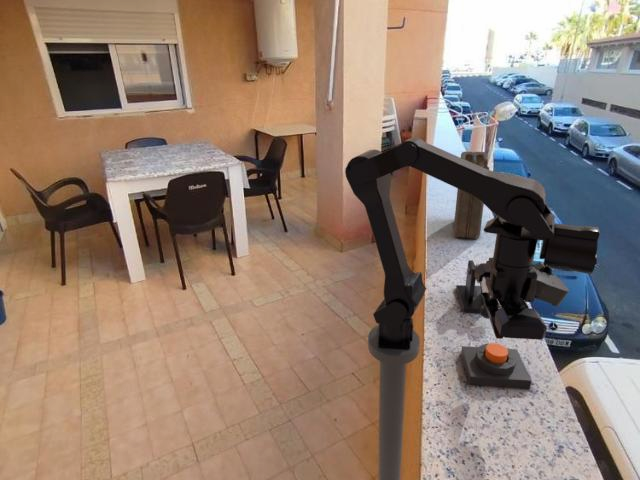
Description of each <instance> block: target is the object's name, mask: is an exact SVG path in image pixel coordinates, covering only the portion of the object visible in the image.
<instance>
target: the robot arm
mask: <svg viewBox="0 0 640 480" xmlns="http://www.w3.org/2000/svg"><path fill="white" fill-rule="evenodd" d="M405 167H410V168H414V169H415V170H417V171H419V172H421V173H423V174H426V175H428V176H430V177H432V178H434V179H437V180H439V181H440V182H443V183H445V184H447V185H449V186H451V187H454V188H455V189H457V190H458V189H460V190H462V191H464V192H466V193H469V194H471V195H473V196H475V197H476V198H478V199H479V200H480V201H482V202H483V203H484V206H486V208H488V210H489V211H490V212H492V213H493V214H494V215H495V216H494V217H493V218H491V219H489V220H488V221H486V223H485V225H484V228H483V232H485V233H487V234H495V235H496V236H495V244H494V249H493V255H492V257H489V258H488V261H489V262H488V263H489V264H487V263H486V262H485V263H483V262H482V263H479V264H480V265H478V266H477V267H476V268H475V278H476V281H475V282H476V283H477V284H480V283H481V282H482V280H483V277H490V279H486V282H485V284H486V287H487V292H483V293H482V297H483V300H484V303H485V306H486V309H487V312H488V316H489V319H488V320H489V321H490V324H491V328H492V331H493V334H494V337H495V339H499V340H500V339H503V338H505V339H521V340H522V339H523V340H538V341H539V340H541V341H542V340H544V339H545V338H546V334H547V330H548V326H547V325H546V323H545V321H544V320H543V318H542V317H541V315H540V314H539V313H538V311H537V310H536V309H535V308H532V307H529V306H528V304H527V303H534V301H535V299H536V300H539V301H542V302H545V303H548V304H551V306H552V307H559V306H560V305H561V303H562V302H563V301H564V299H565V298H566V297H567V295H568V294H569V293H570V289H569V288H568V286H567V285H566V284H565V283H564V281H563V280H562V279H560V278H559V277H558V276H557V275H556V274H554V273H553V268H554V269H557V270H564V271H570V272H576V273H581V274H588V275H592V274H593V273H594V270H595V267H596V265H597V260H598V256H597V253H598V246H599V238H600V235H601V233H600V228H599V227H598V226H592V225H591V226H590V225H585V226H584V225H580V226H579V225H573V224H572V225H571V224H566V223H565V224H563V223H557V222H556V217H555V215H554V214H553V212H552V210H551V209H550V208H549V206H548V204H547V203H546V197H547V193H546V190H545V187H544V185H542V183H541V182H540V181H538V180H536V179H533V178H530V177H526V176H522V175H518V174H514V173H509V172H508V173H507V172H499V171H495V170H494V171H493V170H490V169H489V170H487V169H485V168H483V167H481V166H478V165H476V164H474V163H471V162H469V161H467V160H465V159H462V158H461V156H460V157H459V156H457V155H456V154H453V153H451V152H449V151H447V150H444V149H442V148H439V147H437V146H434V145H432V144H431V143H428V142H426V141H424V140H423V139H422V138H420V137H416V136H413V137H410V138H407V139H406V140H404V141H402V142H400V143H399V144H395V145H393V146H389V147H388V148H386V149H383V150H379V149H369V150H366V151H364V152H363V153H361V154H359V155H356V156H355V157H352V158H351V159H350V160H349V161H348V163H347V165H346V167H345V168H344V169H345V170H344V173H345V177H346V180H347V182H348V185H349V186H350V189H351V191H352V193H353V195H354V196H355V197H356V198H357V199H358V200H359V201H360V203H362V204H363V206H364V208H365V209H364V210H365V212H366V216H367V219H368V221H369V222H368V223H369V225H370V229H371V232H372V235H373V239H374V242H375V245H376V249H377V252H378V256H379V260H380V263H381V266H382V270H383V273H384V283H383V284H384V285H383V300H382V301H381V302H380V304H379V306H377V308H376V309H375V311H374V312H373V313H372V314H373V318H374V321H375V323H376V324H378V325H379V327H378V347H379V348H390V349H407V350H409V349H410V347H411V346H410V341H412V340H413V330H414V319H413V316H414V314H415V313H416V311H417V309H418V307H419V306H420V304H421V302H422V300H423V298H424V296H425V292H426V290H427V287H426V286H425V283H424V281H423V273H422V272H421V271H418V272H414V271H413V270H412V269H411V268H410V266H409V263H408V259H407V256H406V253H405V249H404V246H403V242H402V237H401V235H400V234H401V233H400V231H399V227H398V223H397V220H396V215H395V213H394V209H393V205H392V202H391V198H390V194H391V185H392V184H391V183H392V176H391V174H392V173H394V172H396V171H398V170H400V169H403V168H405ZM539 241H541V246H540V250H539V251H540V252H539V260H543V261H539V262H537V263H535V264H534V259H535V256H536V255H535V254H536V250H537V245H538V242H539ZM533 264H534V265H533ZM380 345H381V346H380Z"/></svg>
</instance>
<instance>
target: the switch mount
mask: <svg viewBox="0 0 640 480" xmlns="http://www.w3.org/2000/svg"><path fill="white" fill-rule="evenodd" d="M488 262H489V260H486V262H485V263H487V264H489V263H488ZM475 268H476V264H475V262H474V260H472V259H471V260H470V259H469V260H468V262H467V268H466V278H465V284H456V286H455V290H456V294H457V297H458V299H459V300H458V301H459V303H460V306H461V309H462V312H463V313H471V314H474V313H475V314H480V307H481V306H482V305H483V299H482V293H481V287H480V285H476V282H477V281H476V278H475ZM486 279H490V277H487V278H486Z"/></svg>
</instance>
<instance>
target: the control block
mask: <svg viewBox="0 0 640 480" xmlns="http://www.w3.org/2000/svg"><path fill="white" fill-rule="evenodd" d="M488 344H489V343H484V344H481V345H478V346H469V345H468V346H465V345H462V346H461V353H460V355H461V359H462V362H463V366H464V370H465V373H466V376H467V380H468V384H469V386H472V385H473V386H483V387H484V386H485V387H499V388H513V389H526V390H530V389H531V386H532V378H531V377H530V376H531V375H530V374H529V372H528V370H527V368H526V365H525V363H524V362H523V359H522V357H521V354H520V353H519V351H518V349H516V348H507V347H506V346H504V347H505V348H506V349H507V350H508V355H507V360H506V362H505V363H503V364H496V363H493V362H490V361H489V360H488V359H487V358H486V357H485V351H486V346H487V345H488Z"/></svg>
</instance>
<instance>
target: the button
mask: <svg viewBox="0 0 640 480" xmlns="http://www.w3.org/2000/svg"><path fill="white" fill-rule="evenodd" d="M487 344H488V345H487V346H486V351H485V357H486V358H487V359H488V360H489V361H490V362H493V363H496V364H503V363H505V362H506V360H507V355H508V350H507V349H508V348H507V347H506V346H505V345H502V344H500V343H497V342H490V343H487ZM505 347H506V348H507V349H506V348H505Z"/></svg>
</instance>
